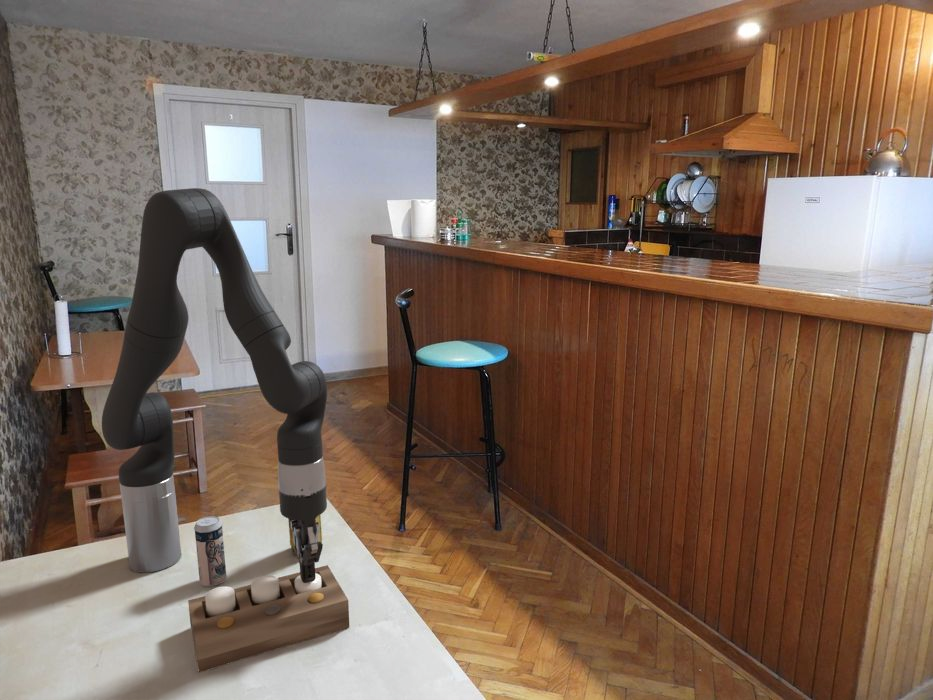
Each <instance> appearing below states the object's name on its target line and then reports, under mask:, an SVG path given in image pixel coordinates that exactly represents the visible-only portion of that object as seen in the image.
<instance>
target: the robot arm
mask: <svg viewBox="0 0 933 700" xmlns="http://www.w3.org/2000/svg"><path fill="white" fill-rule="evenodd" d="M141 221H142V222H141V230H140V232H141V233H140V241H139V242H140V243H139V255H138V264H137V265H138V266H137V271H136V277H135V283H134V288H133V289H134V290H133V296H132V299H131V304H130V308H129V311H128V315H127V320H126V323H125V324H126V325H125V329H124V335H123V340H122V346H121V352H120V355H119V361H118V365H117V368H116V371H115V374H114V378H113V380H112V384H111V386H110V390H109V392H108V395H107V398H106V401H105V403H104V406H103V409H102V415H101V432H102V435H103V439H104V441H105V442H106V444H107V445H108V446H109V447H111V448H112V449H114V450H118V451H123V450H124V451H126V450H130V449H134V448H137V447H139V448H138V449H137V451H136V452H134V454H133V455H132V456H131V457H129V458H128V459H127V460H126V461H124V462H123V463H122V464H121V465H120V466H119V469H118V472H117V473H118V481H119V489H120V497H121V498H120V499H121V507H122V514H123V515H122V516H123V522H124V531H125V537H126V539H125V540H126V547H127V557H128V563H129V568H130V569H131V570H133V572H139V573H152V572H158V571H160V570H161V571H162V570H164V569H166V568H170V567H171V566H173V565H175V564H176V563H178V561H180V559H181V558H182V549H181V548H182V547H181V538H180V537H181V535H180V526H179V517H178V508H177V497H176V489H175V488H176V487H175V479H174V477H175V476H174V469H173V467H174V464H175V439H174V437H175V436H174V419H173V413H172V410H171V405H170V404H169V402H168V400H167V398H166V397H165V396H163V394H161V393H159V392H155V391H154V392H148V391H149V390H150V388H151V387H152V386H153V385H154V384H155V382H156V381H158V379H159V378H161V377H162V375H163V374H164V372H166V371H167V370H168V369H169V368H170V366H171V365H173V362H174V361H175V360H176V359H177V358H178V356H179V354H180V353H181V350H182V347H183V345H184V340H185V338H186V337H185V336H186V333H187V329H188V325H189V313H188V307H187V305H186V303H185V302H186V301H185V300H184V297H183V296H182V294H181V291H180V290H179V287H178V280H177V279H178V273H179V269H180V268H179V267H180V264H181V260H182V258H183V255H184V254H185V252H186V251H187V250H192V249H193V250H194V249H198V248H203V250H205V252H206V253H207V254H208V256H210V258H211V260H212V261H213V262H214V264H215V267H216V268H217V271H218V274H219V278H220V282H221V290H222V293H221V294H222V303H223V309H224V310H223V311H224V314H225V317H226V320H227V322H228V325H229V326H230V328H231V330H232V331H233V333H234V335H236V337H237V339H238V341H239V342H240V344H241V345H242V347H243V348H244V350H245V352H246V354H248V356H249V357H250V361H251V365H252V369H253V371H254V373H255V377H256V380H257V383H258V386H259V389H260V392H261V394H262V396H263V398H264V399H265V400H266V402H267V403H268V405H269V406H271V408H273V409H274V410H275V411H277V412H279V413H281V414H284V415H286V417H285V420H284V421H283V422H282V423H281V424H280V426H279V427H278V429H277V434H276V444H277V458H278V462H277V463H278V465H277V482H278V483H277V484H278V486H277V487H278V497H279V498H278V499H279V511H280V514H281V515H282V516H283V517H284V518H286V519H289V521H288V523H289V522H290V524H291V530H292V535H293V542H294V545H295V546H294V548H295V550H296V551H297V555H296V556H297V559H298V560H299V561H298V562H299V572H300V577H301V580H302V581H303V583H307V582H311V581H314V580H315V568H316V566H315V563H316V564H317V563H319V562H320V558H321V553H322V550H323V543H322V542H323V541H322V542H321V541H320V542H318V534H319V532H320V529H319V523H318V522H316V520H315V519H316V517H317V516H319V515H320V514H321V515H322V514H323V513H324V512H325V511H326V510H327V509H328V507H327V506H328V503H327V502H328V499H327V481H326V466H325V461H324V455H323V454H324V453H323V452H324V451H323V438H322V428H323V423H324V420H325V419H324V418H325V412H326V406H327V400H328V386H327V385H328V384H327V379H326V376H325V374H324V372H323V370H322V368H320V366H318V364H316V363H314V362H312V361H309V360H302V361H298V362H296V363H295V362H294V363H293V364H291V361H290V359H289V357H288V353H287V352H286V351H287V349H288V348H289V347H290V346H291V343H292V339H291V336H290V333H289V331H288V330H287V328H286V326H284V324H283V322H282V320H281V318H280V317H279V316H278V314H277V313H276V311H275V309H274V308H273V306H272V305H271V304H270V302H269V300H268V299H267V297H266V295H265V293H264V291H263V290H262V288H261V285H260V284H259V281H258V280H257V278H256V275H255V273H254V272H253V270H252V267H251V265H250V262H249V260H248V258H247V256H246V253H245V250H244V249H243V246H242V244H241V241H240V240H239V237H238V235H237V233H236V231H235V228H234V226H233V223H232V221H231V219H230V216H229V214H228V213H227V211H226V209H225V207H224V205H223V204H222V202H221V200H220V199H219V198H218V197H217V196H216V195H215V194H214V192H212V191H210V190H209V189H206V188H199V187H198V188H197V187H195V188H193V187H192V188H182V189H180V188H179V189H172V190H171V189H168V190H162V191H158V192H155V193H154V194H152V196H150V197H149V198H148V201H147V202H146V204H145V207H144V210H143V215H142V220H141Z"/></svg>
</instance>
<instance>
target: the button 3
mask: <svg viewBox="0 0 933 700" xmlns="http://www.w3.org/2000/svg"><path fill="white" fill-rule="evenodd" d="M319 588H322V583H321V576H320V575H319V574H317V573H315V580H314V581H311V582H307V583H303V581H302V580H301V577H300V575H299V576H298V577H297V578H296V579H295V593H296V595H297V594H301V593H304V592H308V591H312V590H316V589H319Z"/></svg>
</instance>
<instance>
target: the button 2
mask: <svg viewBox="0 0 933 700" xmlns="http://www.w3.org/2000/svg"><path fill="white" fill-rule="evenodd" d="M278 578H279V577H277V576H275V575H262V576H259V577H257V578H255V579H253V580H252V581H251V583H250V585H251V593H252V603H253V605H259V604H263V603H267V602H271V601H274V600H278V599H280V589H279V579H278Z"/></svg>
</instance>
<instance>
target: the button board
mask: <svg viewBox="0 0 933 700" xmlns="http://www.w3.org/2000/svg"><path fill="white" fill-rule="evenodd" d="M315 573H317V574H319V575H320V576H321V583H322V588H319V589H316V590H312V591H308V592H304V593H301V594H297V595H296V593H295V579H296V578H297V577H298V576H299V575H300V571H299V572H296V573H291V574H287V575H284V576H280V577H279V576H278V577H277V578H278V579H279V589H280V599H278V600H274V601H271V602H267V603H263V604H259V605H253V603H252V593H251V584H248V585H247V584H246V585H243V586H240V587H235V588H233V589H234V592H235V603H236V610H235V611H233V612H229V613H225V614H222V615H218V616H214V617H210V618H209V617H208V616H207V612H206V602H205V595H204V596H201V597H196V598H192V599H188V602H187V603H188V610H189V611H188V613H189V621H190V631H191V634H192V641H193V648H194V654H195V659H196V663H197V664H196V665H197V671H198V670H199V671H198V673H202V672H205V671H208V669H209V670H212V669H215V668H217V667H218V666H219V667H222V666H225V665H228V663H229V664H232V663H235V662H239V661H242V660H244V659H248V658H251V657H255V656H258V655H262V654H265V653H268V652H272V651H275V650H278V649H282V648H284V647H289V646H291V645H295V644H298V643H302V642H305V641H309V640H312V639H315V638H318V637H322V636H325V635H328V634H331V633H335V632H338V631H342V630H344V629H349V628H350V609H349V608H350V607H349V599H348V597H347V596H346V594H345V592H344V590H343V588H342V587H341V585H340V584H339V582H338V580H337V579H336V576H335V575H334V573H333V572H332V570H331V569H330V567H329V565H328V564H327V565H324V566H323V565H322V566H319V567H315ZM201 671H202V672H201Z"/></svg>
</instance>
